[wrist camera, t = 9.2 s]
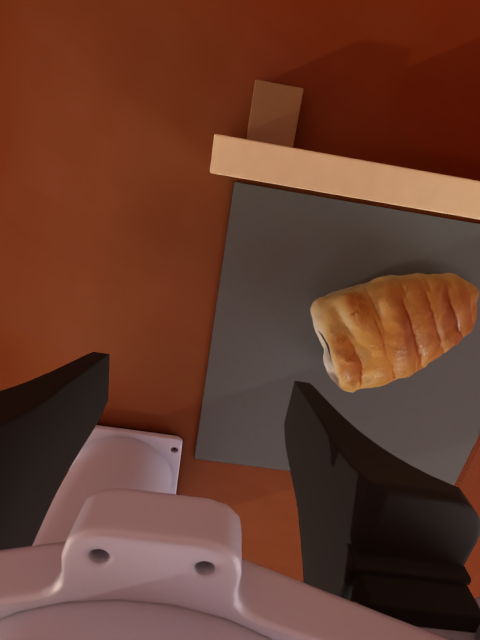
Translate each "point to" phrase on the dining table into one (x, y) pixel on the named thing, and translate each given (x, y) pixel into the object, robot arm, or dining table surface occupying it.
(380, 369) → the pastry
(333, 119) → the dining table surface
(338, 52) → the dining table surface
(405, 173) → the back board
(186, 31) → the dining table surface
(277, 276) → the placemat
